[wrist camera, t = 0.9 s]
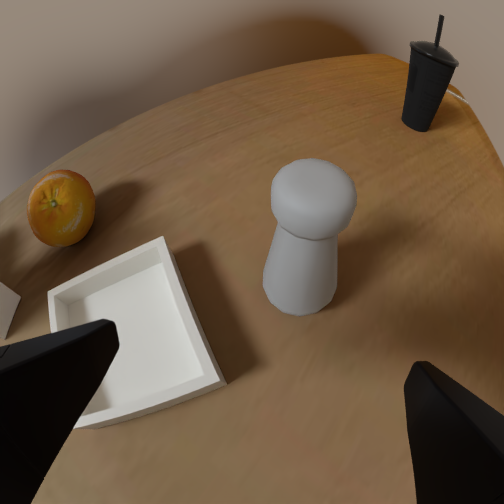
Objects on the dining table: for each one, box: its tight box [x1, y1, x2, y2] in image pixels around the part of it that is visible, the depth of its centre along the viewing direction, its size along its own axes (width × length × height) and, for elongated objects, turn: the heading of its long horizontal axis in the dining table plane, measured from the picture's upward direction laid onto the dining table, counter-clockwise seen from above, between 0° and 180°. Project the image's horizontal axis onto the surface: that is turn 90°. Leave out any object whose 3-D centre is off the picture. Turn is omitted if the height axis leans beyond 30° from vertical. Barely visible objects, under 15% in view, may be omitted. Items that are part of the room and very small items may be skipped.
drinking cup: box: [402, 15, 459, 132], centre depth 28 cm, size 8×8×20 cm
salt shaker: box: [263, 158, 357, 316], centre depth 18 cm, size 6×6×13 cm
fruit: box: [27, 170, 96, 247], centre depth 26 cm, size 8×9×8 cm
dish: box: [48, 236, 227, 429], centre depth 21 cm, size 13×13×3 cm
